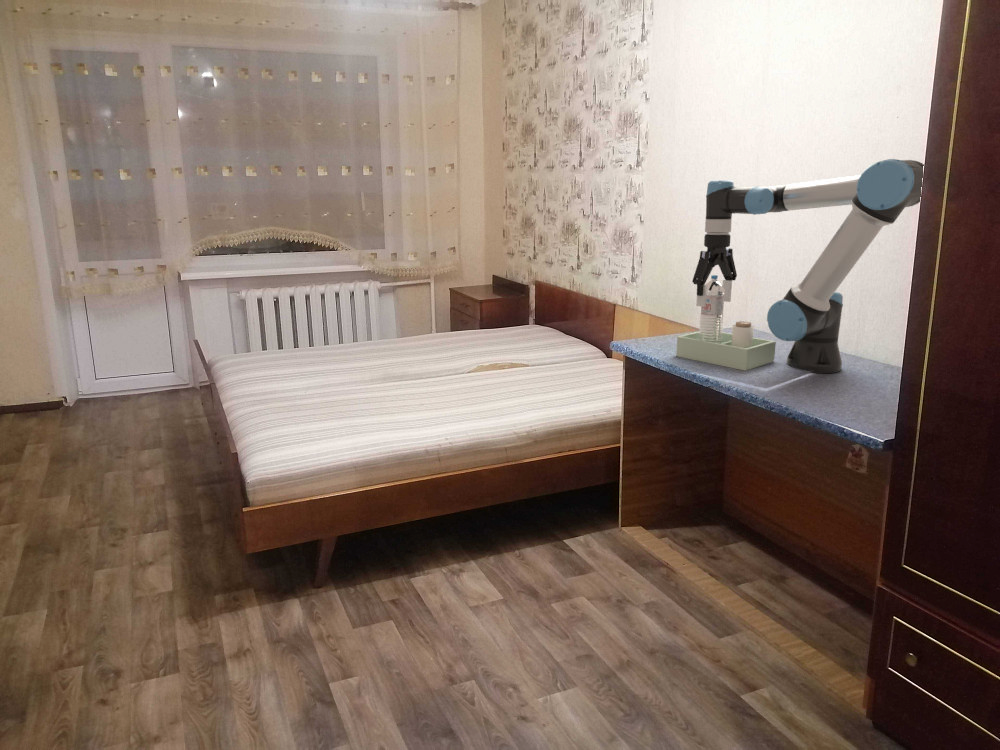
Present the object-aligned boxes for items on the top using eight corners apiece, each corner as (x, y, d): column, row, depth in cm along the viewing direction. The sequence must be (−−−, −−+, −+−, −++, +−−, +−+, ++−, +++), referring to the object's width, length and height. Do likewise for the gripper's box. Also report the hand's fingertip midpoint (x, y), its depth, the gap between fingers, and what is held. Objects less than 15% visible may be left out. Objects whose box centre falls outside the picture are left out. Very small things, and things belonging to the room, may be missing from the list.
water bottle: (723, 358, 232) (728, 277, 225) (700, 358, 232) (705, 277, 225) (717, 352, 238) (722, 273, 231) (695, 352, 238) (700, 274, 232)
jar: (754, 362, 227) (758, 322, 224) (743, 365, 223) (747, 325, 220) (736, 358, 231) (740, 320, 228) (726, 361, 227) (729, 322, 224)
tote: (773, 363, 228) (775, 341, 226) (745, 373, 217) (747, 349, 216) (705, 350, 245) (706, 329, 243) (676, 358, 235) (677, 336, 233)
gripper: (729, 230, 236) (725, 298, 241) (682, 235, 220) (679, 307, 225) (751, 231, 230) (746, 300, 236) (704, 236, 215) (700, 310, 220)
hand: (713, 303), depth 230 cm, fingers open, 13 cm apart
